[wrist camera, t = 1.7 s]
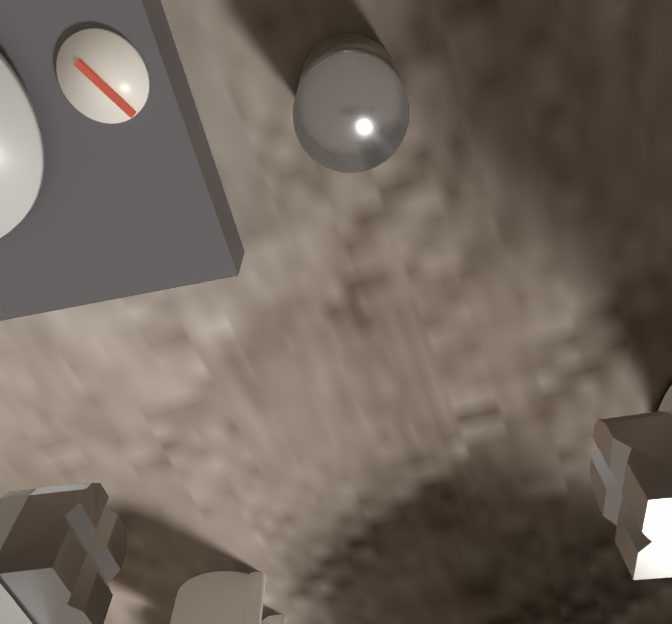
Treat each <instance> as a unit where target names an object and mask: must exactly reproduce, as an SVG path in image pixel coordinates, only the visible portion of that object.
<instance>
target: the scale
mask: <svg viewBox="0 0 672 624" xmlns="http://www.w3.org/2000/svg"><path fill="white" fill-rule="evenodd" d="M243 255H244V249H243V246H242V243H241V240H240V237H239V234H238V231H237V228H236V225H235V222H234V219H233V216H232V213H231V210H230V207H229V204H228V201H227V198H226V195H225V192H224V189H223V186H222V183H221V180H220V177H219V174H218V171H217V168H216V165H215V162H214V159H213V156H212V153H211V150H210V147H209V144H208V142H207V139H206V136H205V133H204V130H203V127H202V124H201V121H200V118H199V115H198V112H197V109H196V106H195V103H194V100H193V97H192V94H191V91H190V88H189V85H188V82H187V79H186V76H185V73H184V70H183V67H182V64H181V61H180V58H179V55H178V52H177V49H176V46H175V43H174V40H173V37H172V34H171V31H170V28H169V25H168V22H167V19H166V16H165V13H164V10H163V7H162V4H161V1H160V0H0V321H2V320H7V319H12V318H17V317H23V316H28V315H33V314H38V313H44V312H49V311H54V310H59V309H65V308H70V307H75V306H80V305H86V304H91V303H96V302H102V301H107V300H112V299H117V298H123V297H128V296H133V295H138V294H144V293H149V292H154V291H159V290H165V289H170V288H175V287H180V286H186V285H191V284H196V283H202V282H207V281H212V280H217V279H223V278H228V277H233V276H238V273H239V270H240V266H241V263H242V259H243Z"/></svg>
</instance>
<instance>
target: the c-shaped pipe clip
mask: <svg viewBox="0 0 672 624" xmlns="http://www.w3.org/2000/svg"><path fill="white" fill-rule="evenodd" d="M265 581H266V576H265V575H264V574H263V573H261V572H252V573H250V574H246V573H241V572H233V571H217V572H209V573H205V574H201V575H198V576H196V577H193V578H191V579H189V580H188V581H186V582H185V583H184V584H183V585H182V586H181V587H180V588H179V590H178V592H177V595H176V599H175V604H174V608H173V612H172V616H171V621H170V624H286V617H285V616H284V615H282V614H280V615H272V616H268V617H267V618H265V619H264V620H262V610H263V601H264V591H265ZM261 620H262V621H261Z"/></svg>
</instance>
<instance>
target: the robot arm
mask: <svg viewBox="0 0 672 624" xmlns="http://www.w3.org/2000/svg"><path fill="white" fill-rule="evenodd" d="M593 438H594V440H595V442H596V444H597V446H598V448H599V450H598V451H597V452H596V453H595V454H594V455H593V456H592V457H591V465H590V475H591V482H592V488H593V492H594V495H595V498H596V501H597V504H598V506H599V508H600V510H601V512H602V515H603V516H604V517H605V518H607V519H608V520H609V521H611V522H612V523H614V524H615V525H617V528H616V535H615V543H616V545H617V547H618V549H619V551H620V553H621V555H622V557H623V560H624V562H625V564H626V566H627V568H628V570H629V572H630V574H631V576H632V578H633V580H641V579H655V578H668V577H672V385H671V386H670V388H669V390H668V391H667V393H666V394H665V396H664V398H663V400H662V402H661V404H660V407H659V410H658V412H651V413H643V414H636V415H628V416H621V417H614V418H606V419H599V420H597V422H596V424H595V426H594V434H593ZM108 497H109V496H108V495H107V493H106V491H105V490H104V488H103V487H102V485H101V483H85V484H75V485H64V486H54V487H44V488H37V489H28V490H18V491H9V492H8V493H7V494H5V495H4V496H3V497H1V498H0V624H104V620H105V617H106V614H107V611H108V608H109V605H110V602H111V599H112V596H113V595H112V593H111V590H110V588H109V586H108V583H109V582H110V581H111V580H112V579H113V577H114V576H115V575H116V574H117V573H118V572H119V571H120V570H121V567H122V564H123V560H124V557H125V553H126V532H125V528H124V524H123V522H122V520H121V518H120V516H119V514H118V513H116V512H115V511H113V510H111V509H109V508H108V507H106V506H105V505H106V502H107V499H108Z"/></svg>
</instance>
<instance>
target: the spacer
mask: <svg viewBox="0 0 672 624" xmlns="http://www.w3.org/2000/svg"><path fill="white" fill-rule="evenodd" d="M408 121H409V104H408V99H407V95H406V92H405V90H404V87H403V85H402V82H401V80H400V77H399V75H398V72H397V70H396V67H395V65H394V62H393V61H392V59H391V57H390V55H389V54H388V52H387V51H386V50H385V49H384V48H383V46H381V45H380V44H379V43H378V42H377V41H375V40H373V39H372V38H370V37H367V36H365V35H361V34H357V33H342V34H337V35H334V36H331V37H329V38H327V39H325V40H324V41H322V42H321V43H319V44H318V45H317V46H316V47H315V48H314V49H313V50H312V51H311V53H310V54H309V56H308V57H307V59H306V61H305V63H304V65H303V68H302V71H301V75H300V80H299V84H298V88H297V92H296V97H295V101H294V106H293V122H294V128H295V131H296V134H297V137H298V139H299V141H300V143H301V145H302V147H303V148H304V150H305V151H306V152H307V153H308V154H309V155H310V156H311V157H312V158H313V159H314V160H315V161H317V162H318V163H319V164H321V165H323V166H325V167H327V168H329V169H332V170H335V171H339V172H346V173H355V172H362V171H366V170H369V169H372V168H374V167H376V166H378V165H380V164H381V163H383V162H384V161H386V160H387V159H388V158H389V157H390V156H391V155H392V154H393V153H394V152H395V151H396V150H397V148H398V147H399V145H400V144H401V142H402V140H403V138H404V136H405V133H406V130H407V127H408Z"/></svg>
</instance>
